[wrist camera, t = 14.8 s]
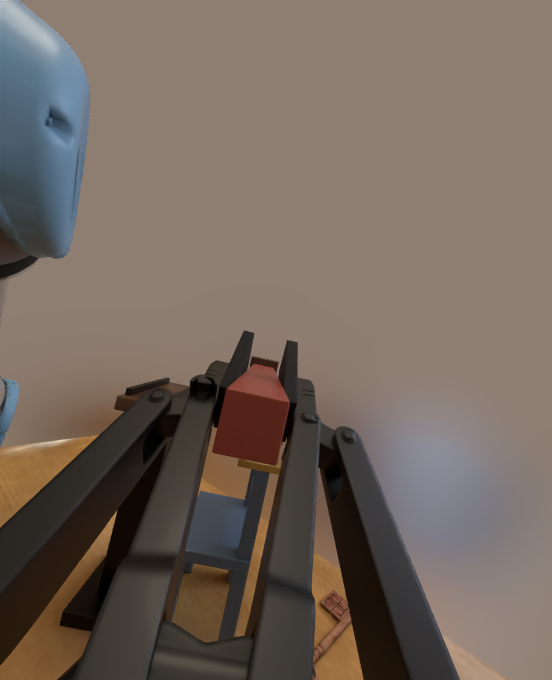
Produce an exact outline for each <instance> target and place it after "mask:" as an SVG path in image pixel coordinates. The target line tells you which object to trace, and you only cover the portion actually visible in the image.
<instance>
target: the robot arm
mask: <svg viewBox="0 0 552 680" xmlns="http://www.w3.org/2000/svg"><path fill="white" fill-rule="evenodd" d="M89 108H90V91H89V84H88V80H87V76H86V74H85V71H84V69H83V67H82V64H81V62H80V61H79V59H78V58H77V55H76V54H75V53H74V51H73V50H72V48H71V47H70V46H69V45H68V43H67V42H66V41H65V40H64V39H63V38H62V37H61V36H60V35H59V34H58V33H57V32H56V31H55V30H54V29H52V28H51V27H50V26H49V25H48V24H46V23H45V22H44V21H43V20H42V19H40V18H39V17H38V16H37V15H36V14H35V13H33V12H32V11H31V10H30V9H29V8H27V7H26V6H25V5H24V4H23V3H21V2H20V1H19V0H0V325H1V319H2V313H3V307H4V302H5V297H6V290H7V285H8V279H9V278H12V277H15V276H17V275H19V274H21V273H23V272H25V271H27V270H28V269H29V268H31V267H32V266H33V265H34V264H35V263H36V262H37V261H38V259H39V258H44V257H52V258H55V259H57V258H63V257H65V256H66V255H67V254H68V252H69V249H70V245H71V242H72V238H73V232H74V227H75V222H76V216H77V209H78V201H79V194H80V185H81V181H82V175H83V167H84V159H85V152H86V143H87V134H88V123H89ZM253 338H254V333H252V332H248V331H244V332H243V334H242V336H241V339H240V341H239V343H238V345H237V348H236V350H235V352H234V354H233V357H232V359H231V361H230V363H225V362H221V361H215V362H213V363H211V364H210V366H209V368H208V370H207V371H206V373H205V375H197V376H195V377H193V378H192V379H191V381H190V392H189V395H185V396H172V393H171V392H170V391H169V390H167V389H164V388H154V389H151V390H148V391H147V392H145V393H144V394H143V395H142V396H141V397H140V398H139V399H138V400H136V401H135V402H134V403H133V404H132V405H131V406H130V407H129V408H128V409H127V410H126V411H125V412H124V413H123V414H122V415H120V417H118V418H117V419H116V420H115V421H114V422H113V423H112V424H111V425H110V426H109V427H108V428H107V429H105V431H103V432H102V433H101V434H100V435H99V436H98V437H97V438H96V439H95V440H94V441H93V442H92V443H90V444H89V445H88V446H87V447H86V448H85V449H84V450H83V451H82V452H81V453H80V454H79V455H78V456H77V457H76V458H74V459H73V460H72V461H71V462H70V463H69V464H68V465H67V466H66V467H65V468H64V469H63V470H62V471H61V472H59V473H58V474H57V475H56V476H55V477H54V478H53V479H52V480H51V481H50V482H49V483H48V484H47V485H46V486H45V487H43V488H42V489H41V490H40V491H39V492H38V493H37V494H36V495H35V496H34V497H33V498H32V499H31V500H30V501H28V502H27V503H26V504H25V505H24V506H23V507H22V508H21V509H20V510H19V511H18V512H17V513H16V514H15V515H13V516H12V517H11V518H10V519H9V520H8V521H7V522H6V523H5V524H4V525H3V526H2V527H1V528H0V665H1V664H2V663H3V662H4V660H5V659H6V658H7V657H8V656H9V655H10V654H11V652H12V651H13V650H14V649H15V647H16V646H17V645H18V643H19V642H20V641H21V640H22V638H23V637H24V636H25V635H26V633H27V632H28V631H29V629H30V628H31V627H32V625H33V624H34V623H35V621H36V620H37V619H38V617H39V616H40V615H41V613H42V612H43V610H44V609H45V608H46V606H47V605H48V604H49V602H50V601H51V600H52V598H53V597H54V595H55V594H56V593H57V591H58V590H59V589H60V587H61V586H62V585H63V583H64V582H65V581H66V579H67V578H68V576H69V575H70V574H71V572H72V571H73V570H74V568H75V567H76V566H77V564H78V563H79V561H80V560H81V559H82V557H83V556H84V555H85V553H86V552H87V551H88V549H89V548H90V546H91V545H92V544H93V542H94V541H95V540H96V538H97V537H98V536H99V534H100V533H101V531H102V530H103V529H104V527H105V526H106V525H107V523H108V522H109V521H110V519H111V518H112V516H113V515H114V514H115V512H116V511H117V510H118V508H119V507H120V506H121V504H122V503H123V501H124V500H125V499H126V497H127V496H128V495H129V493H130V492H131V491H132V489H133V488H134V487H135V485H136V484H137V482H138V481H139V480H140V478H141V477H142V476H143V474H144V473H145V472H146V470H147V469H148V467H149V466H150V465H151V463H152V462H153V461H154V459H155V458H156V457H157V455H158V454H159V452H160V451H161V450H162V448H163V447H164V446H165V444H166V443H167V442H168V440H169V438H170V437H173V438H172V441H171V443H170V446H169V448H168V451H167V454H166V456H165V459H164V461H163V464H162V467H161V469H160V472H159V474H158V477H157V480H156V482H155V485H154V487H153V490H152V493H151V495H150V498H149V500H148V503H147V506H146V508H145V511H144V513H143V516H142V519H141V521H140V524H139V526H138V529H137V532H136V534H135V537H134V539H133V542H132V545H131V547H130V550H129V552H128V554H127V556H126V558H124V559H123V560H122V561H121V563H120V565H119V566H118V568H117V570H116V573H115V575H114V577H113V580H112V582H111V585H110V587H109V590H108V592H107V595H106V597H105V600H104V602H103V605H102V607H101V610H100V612H99V615H98V617H97V620H96V622H95V625H94V627H93V630H92V632H91V635H90V637H89V640H88V642H87V645H86V647H85V650H84V652H83V655H82V657H80V658H79V659H78V660H77V661H76V662H75V663H74V664H73V665H72V666H71V667H70V668H69V669H68V670H67V671H66V672H65V673H64V674H63V675H62V676H61V677H60V678H58V679H57V680H312V679H313V656H314V632H315V600H314V597H313V595H312V568H313V550H314V532H315V515H316V497H317V477H318V467H319V468H320V473H321V477H322V482H323V487H324V492H325V496H326V501H327V506H328V510H329V516H330V521H331V525H332V530H333V535H334V539H335V545H336V549H337V554H338V559H339V564H340V568H341V573H342V578H343V583H344V588H345V592H346V597H347V602H348V607H349V612H350V616H351V621H352V626H353V631H354V636H355V640H356V645H357V650H358V655H359V659H360V664H361V669H362V674H363V679H364V680H460V679H459V676H458V674H457V671H456V669H455V666H454V664H453V661H452V659H451V657H450V654H449V652H448V649H447V647H446V644H445V642H444V640H443V637H442V635H441V632H440V630H439V627H438V625H437V622H436V620H435V618H434V615H433V613H432V610H431V608H430V606H429V603H428V601H427V598H426V596H425V593H424V591H423V588H422V586H421V584H420V581H419V579H418V576H417V574H416V571H415V569H414V566H413V564H412V562H411V559H410V557H409V554H408V552H407V549H406V547H405V545H404V542H403V540H402V537H401V535H400V532H399V530H398V527H397V525H396V523H395V520H394V518H393V515H392V513H391V511H390V508H389V506H388V503H387V501H386V498H385V496H384V494H383V491H382V489H381V486H380V484H379V481H378V479H377V476H376V474H375V472H374V469H373V467H372V464H371V462H370V459H369V457H368V454H367V452H366V449H365V447H364V445H363V442H362V440H361V438H360V437H359V435H358V433H356V432H355V431H354V430H353V429H351V428H348V427H338V428H337V429H336V430H334V429H331V428H329V427H327V426H326V425H324V424H323V423H322V422H321V421H320V417H319V416H318V415H317V413H316V402H315V393H314V392H315V391H314V385H313V384H312V382H311V381H310V380H306V379H301V378H297V354H298V353H297V351H298V343H297V342H293V341H289V340H287V343H286V347H285V351H284V355H283V358H282V362H281V366H280V370H279V377H278V378H279V380H280V382H281V385H282V387H283V389H284V391H285V393H286V395H287V397H288V399H289V401H290V405H289V410H288V414H287V419H286V424H285V428H284V433H283V438H282V442H285V441H286V438H287V443H286V446H285V449H284V452H283V455H282V458H281V459H282V463H281V468H280V473H279V477H278V482H277V487H276V492H275V497H274V501H273V506H272V511H271V516H270V521H269V526H268V530H267V535H266V540H265V545H264V550H263V554H262V559H261V564H260V569H259V574H258V579H257V583H256V588H255V593H254V598H253V603H252V607H251V612H250V616H249V620H248V624H247V627H246V631H245V636H240V637H235V638H230V639H225V640H220V641H215V642H210V643H205V642H202V641H201V640H199V639H198V638H196V637H195V636H193V635H191V634H190V633H188V632H187V631H185V630H184V629H182V628H181V627H179V626H178V625H176V624H175V623H173V622H170V620H171V615H172V610H173V604H174V599H175V594H176V589H177V585H178V580H179V576H180V571H181V567H182V562H183V558H184V553H185V549H186V545H187V540H188V536H189V531H190V527H191V522H192V518H193V513H194V509H195V504H196V500H197V495H198V491H199V486H200V482H201V477H202V473H203V468H204V464H205V459H206V455H207V451H208V446H209V441H210V437H211V432H212V426H213V424H214V427H216V428H218V424H219V419H220V415H221V411H222V406H223V402H224V398H225V393H226V389H227V388H228V387H229V386H230V385H231V384H232V383H233V382H235V381H236V380H237V379H238V378H239V377H240V376H241V375H242V374H244V373H245V372H246V371H247V368H248V364H249V359H250V354H251V349H252V343H253ZM18 394H19V386H18V384H17V383H16V382H15V381H13V380H7V379H5V378H1V376H0V446H1V444H2V442H3V440H4V438H5V433H6V432H7V431H8V429H9V427H10V424H11V421H12V418H13V415H14V412H15V409H16V404H17V400H18Z"/></svg>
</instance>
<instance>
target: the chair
mask: <svg viewBox="0 0 552 680" xmlns="http://www.w3.org/2000/svg"><path fill="white" fill-rule="evenodd" d="M281 445H283V442H281ZM238 466H240V467H244V468H250V469H251V474H250V478H249V483H248V487H247V492H246V496H245V500H242V499H237V498H233V497H228V496H223V495H218V494H213V493H208V492H203V491H200V493H199V495H198V497H197V500H196V504H195V509H194V513H193V518H192V522H191V527H190V531H189V536H188V540H187V545H186V549H185V553H184V558H183V562H182V567H181V571H180V576H179V580H178V585H177V589H176V594H175V599H174V604H173V610H172V615H171V620H170V622H172V621H173V616H174V612H175V608H176V603H177V599H178V595H179V590H180V586H181V582H182V577H183V573H184V572H187V573H191V570H192V567H193V564H194V563H195V564H200V565H206V566H211V567H216V568H221V569H226V570H229V573H228V579H227V582H229V583H230V587H229V592H228V596H227V601H226V605H225V610H224V614H223V619H222V624H221V628H220V633H219V637H218V641H220V640H225V639H230V638H234V635H235V630H236V626H237V621H238V616H239V612H240V607H241V603H242V598H243V593H244V589H245V584H246V580H247V575H248V570H249V566H250V561H251V557H252V552H253V547H254V543H255V538H256V534H257V529H258V524H259V520H260V515H261V510H262V505H263V501H264V497H265V492H266V488H267V483H268V478H269V473H274V474H278V475H279V473H280V468H281V463H280V462H277V465H276V466H274V465H269V464H264V463H259V462H254V461H250V460H245V459H240V458H239V461H238Z"/></svg>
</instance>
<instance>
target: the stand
mask: <svg viewBox="0 0 552 680" xmlns="http://www.w3.org/2000/svg"><path fill="white" fill-rule="evenodd" d="M169 380H170V378H163V379H159V380H156V381H152V382H148V383H144V384H140V385H136V386H133V387H129V388H127V389H126V393H125V394H123V395H119V396H117V400H116V403H115V407H114V409H116V410H121V411H126V410H127V409H128V408H129V407H130V406H131V405H132V404H133V403H134V402H135V401H136V400H138V399H139V398H140V397H141V396H142V395H143V394H144V393H145V392H147V391H148V390H151V389H154V388H164V389H167V390H169V391H170V392H171V393H172V396H185V395H189V392H190V387H189V386H185V385H180V384H175V383H171V382H169ZM172 438H173V437H170V438H169V440H168V442H167V443H166V444H165V446H164V447H163V448H162V450H161V451H160V452H159V454H158V455H157V457H156V458H155V459H154V461H153V462H152V463H151V465H150V466H149V467H148V469H147V470H146V472H145V473H144V474H143V476H142V477H141V478H140V480H139V481H138V482H137V484H136V485H135V487H134V488H133V489H132V491H131V492H130V493H129V495H128V496H127V497H126V499H125V500H124V501H123V503H122V504H121V506H120V507H119V508H118V511H117V515H116V519H115V523H114V527H113V531H112V535H111V539H110V543H109V547H108V551H107V555H106V557H105V558H104V559H103V561H102V562H101V563H100V564H99V566H98V567H97V568H96V570H95V571H94V572H93V573H92V575H91V576H90V577H89V579H88V580H87V581H86V582H85V584H84V585H83V586H82V588H81V589H80V590H79V591H78V593H77V594H76V595H75V597H74V598H73V599H72V600H71V602H70V603H69V604H68V606H67V607H66V608H65V609H64V611H63V613H62V617H61V621H60V625H61V626H67V627H72V628H78V629H83V630H89V631H92V630H93V627H94V625H95V622H96V620H97V617H98V615H99V612H100V610H101V607H102V605H103V602H104V600H105V597H106V595H107V592H108V590H109V587H110V585H111V582H112V580H113V577H114V575H115V573H116V570H117V568H118V566H119V565H120V563H121V561H122V560H123V559H124V558H126V556H127V554H128V552H129V550H130V547H131V545H132V542H133V539H134V537H135V534H136V532H137V529H138V526H139V524H140V521H141V519H142V516H143V513H144V511H145V508H146V506H147V503H148V500H149V498H150V495H151V493H152V490H153V487H154V485H155V482H156V480H157V477H158V474H159V472H160V469H161V467H162V464H163V461H164V459H165V456H166V454H167V451H168V448H169V446H170V443H171V441H172Z"/></svg>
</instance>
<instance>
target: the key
mask: <svg viewBox="0 0 552 680" xmlns="http://www.w3.org/2000/svg"><path fill="white" fill-rule="evenodd" d="M332 595H333V596H332ZM331 596H332V597H331ZM330 597H331V599H330ZM342 600H343V598H342V597H341V596H340V595H339V594H337V593H336V592H335V591H334V590H333V591H332V592H331V593H330V594H329V595H327V596H326V597H325V598H324V599H323V600H322V601H321V602H320V603H321V604H322V605H323V606H324V607H325V608H326V609H327V610H328V611H329V612H331V611H332V610H333V609H334V608H335V606H336V608H335V609H334V610H333V611H332V614H333V615H334V616H335V617H336V618H337V619H338V620H339V621H340V622H339V623H338V624H337V625H336V626H335V627H334V628H333V630H332V631H331V632H330V633H329V634H328V635H327V636H326V637H325V638H324V639H323V640H322V641H320V642H319V644H318V646H316V648H315V650H314V656H313V663H314V662H316V661H317V660H318V657H320V656H321V655H322V654H323V653H325V652H326V649H327V648H328V647H329V646H330V645H331V643H332V642H333V641H334V640H335V639H336V638H337V637H338V635H339V634H340V633H341V632H342V631H343V630H344V629H345V627H346V626H347V625H348V624H349V623H350V622H351V616H350V612H349V609H348V608H349V607H348V602H347V601H346V600H345V599H344V600H343V601H342ZM325 601H326V602H325ZM341 601H342V602H341ZM324 602H325V603H324ZM340 602H341V603H340ZM339 603H340V604H339ZM338 604H339V606H338ZM347 609H348V610H347ZM346 610H347V611H346ZM345 611H346V612H345ZM343 613H344V614H343ZM342 614H343V615H342ZM341 615H342V617H340V616H341ZM313 674H314V678H315V680H318V675H317V671H316V669H315V667H314V665H313Z"/></svg>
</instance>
